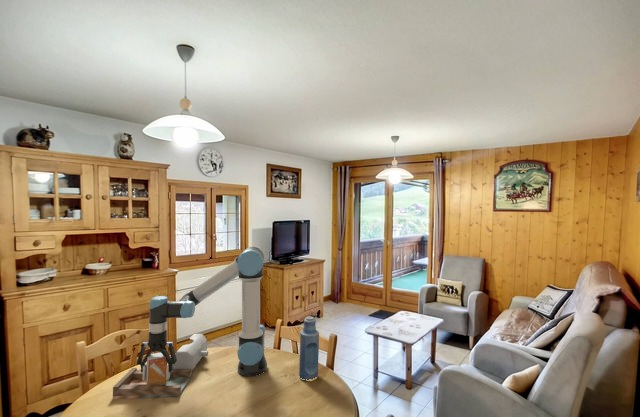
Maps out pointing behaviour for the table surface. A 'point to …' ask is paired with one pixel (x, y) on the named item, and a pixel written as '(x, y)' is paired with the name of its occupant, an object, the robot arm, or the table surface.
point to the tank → (191, 353)
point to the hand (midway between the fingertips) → (156, 378)
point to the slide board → (151, 385)
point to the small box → (156, 369)
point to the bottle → (309, 349)
